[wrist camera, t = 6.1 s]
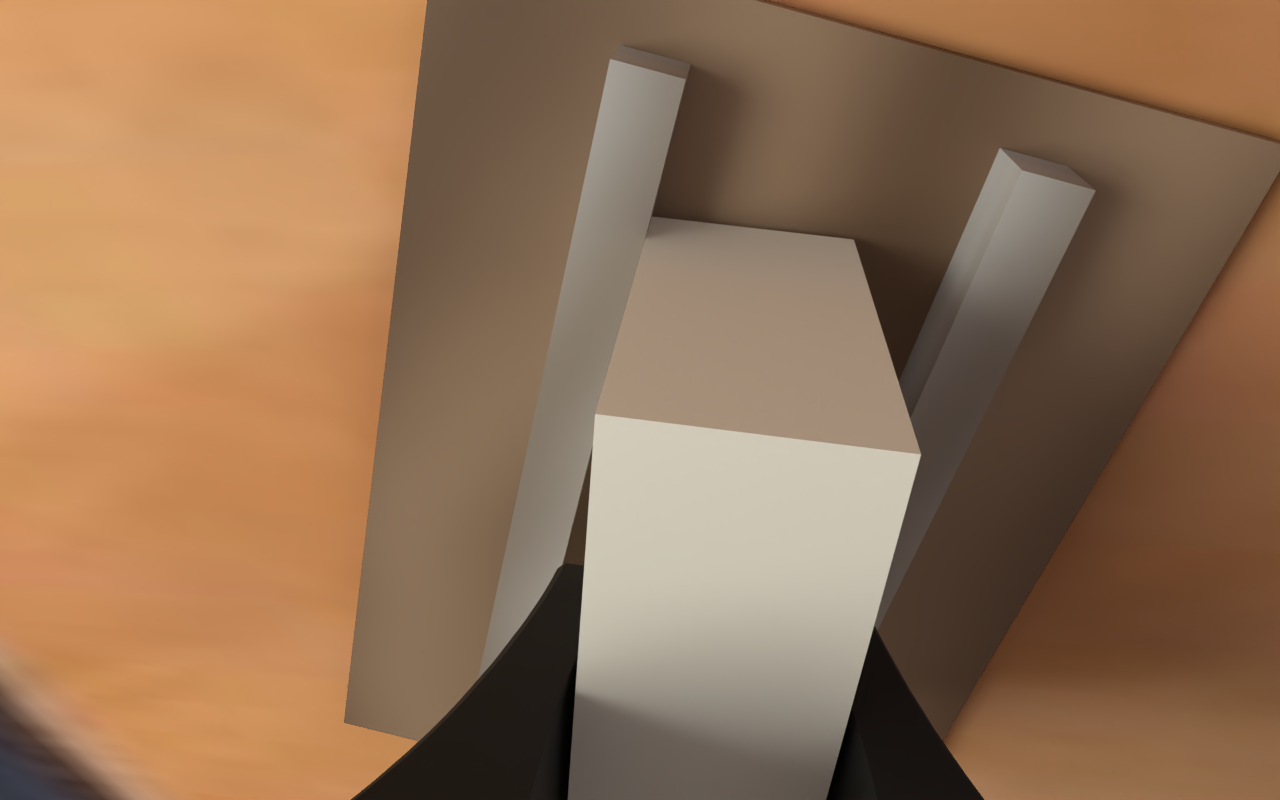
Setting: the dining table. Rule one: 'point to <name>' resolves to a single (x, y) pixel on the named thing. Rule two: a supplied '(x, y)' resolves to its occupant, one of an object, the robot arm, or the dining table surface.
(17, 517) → the dining table surface
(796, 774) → the cream rectangular block
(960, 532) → the track board
